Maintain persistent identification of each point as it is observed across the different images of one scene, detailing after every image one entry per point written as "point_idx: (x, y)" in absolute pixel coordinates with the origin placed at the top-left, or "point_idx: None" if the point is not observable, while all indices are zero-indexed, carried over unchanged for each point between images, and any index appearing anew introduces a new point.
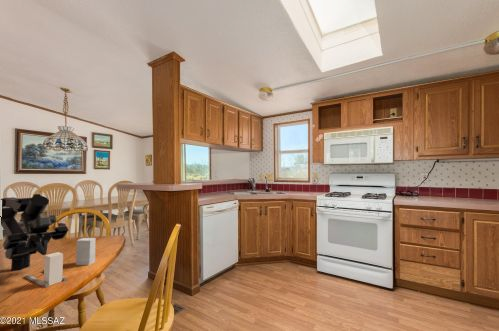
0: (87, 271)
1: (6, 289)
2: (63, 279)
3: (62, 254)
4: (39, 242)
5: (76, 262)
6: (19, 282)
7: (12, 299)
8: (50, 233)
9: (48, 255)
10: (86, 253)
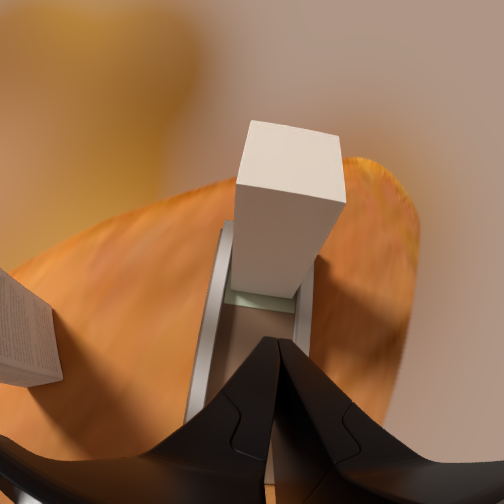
0: (87, 275)
1: None
2: None
3: (255, 123)
4: (352, 454)
5: (46, 372)
6: None
7: (395, 294)
8: (4, 475)
9: (331, 172)
10: (5, 292)
